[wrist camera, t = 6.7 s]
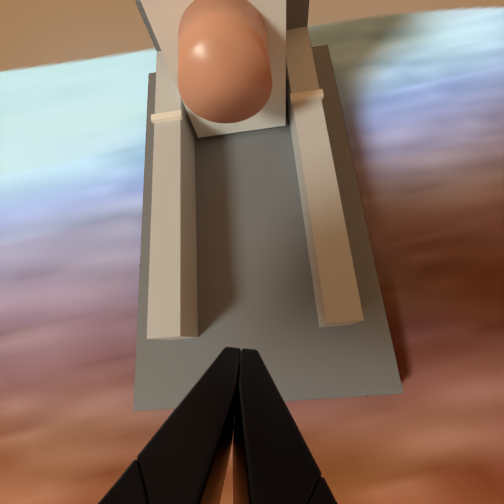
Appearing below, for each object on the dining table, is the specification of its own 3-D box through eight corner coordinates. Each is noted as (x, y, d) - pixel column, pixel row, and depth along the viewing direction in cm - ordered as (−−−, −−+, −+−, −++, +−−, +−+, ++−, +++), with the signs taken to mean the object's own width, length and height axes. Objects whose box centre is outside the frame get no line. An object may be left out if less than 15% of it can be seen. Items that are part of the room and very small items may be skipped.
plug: (290, 162, 16) (302, -181, 6) (198, 174, 16) (48, -124, 6) (280, 85, 18) (273, -285, 7) (197, 98, 18) (77, -237, 8)
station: (394, 389, 13) (477, 424, 8) (143, 406, 14) (48, 448, 8) (325, 59, 20) (342, -57, 14) (155, 86, 21) (105, -13, 15)
